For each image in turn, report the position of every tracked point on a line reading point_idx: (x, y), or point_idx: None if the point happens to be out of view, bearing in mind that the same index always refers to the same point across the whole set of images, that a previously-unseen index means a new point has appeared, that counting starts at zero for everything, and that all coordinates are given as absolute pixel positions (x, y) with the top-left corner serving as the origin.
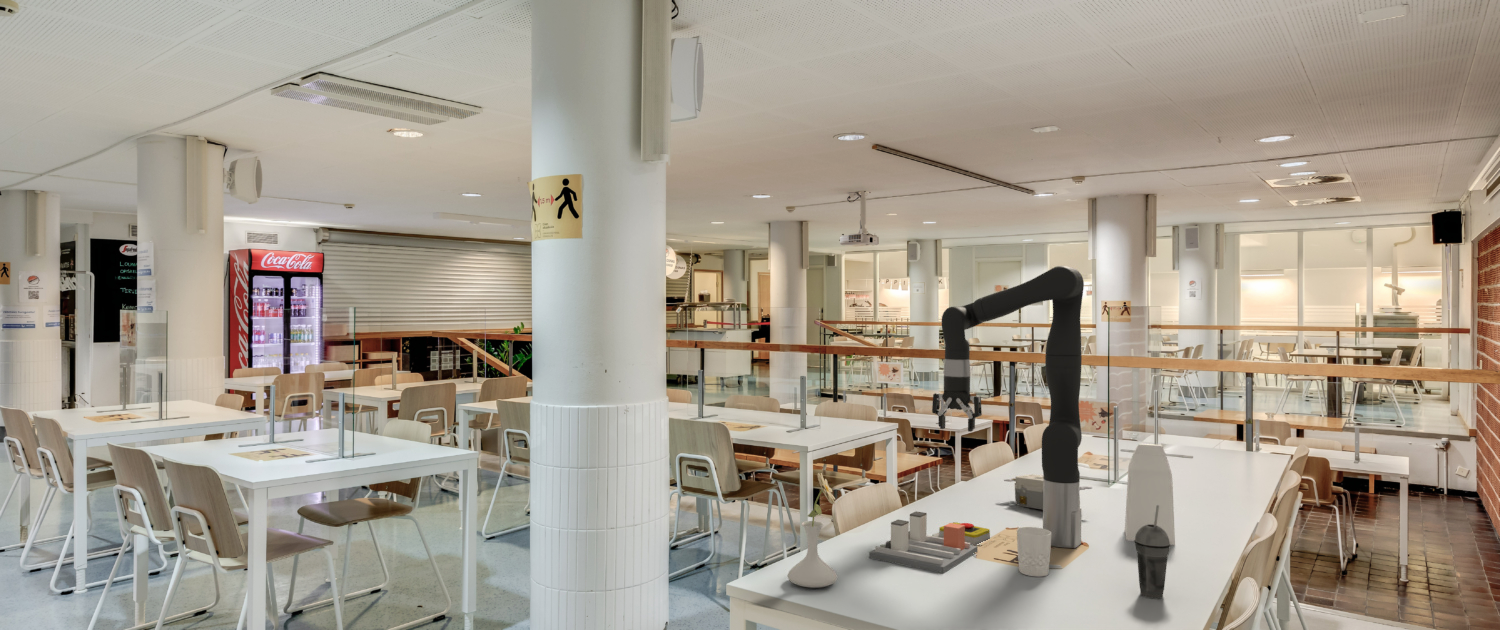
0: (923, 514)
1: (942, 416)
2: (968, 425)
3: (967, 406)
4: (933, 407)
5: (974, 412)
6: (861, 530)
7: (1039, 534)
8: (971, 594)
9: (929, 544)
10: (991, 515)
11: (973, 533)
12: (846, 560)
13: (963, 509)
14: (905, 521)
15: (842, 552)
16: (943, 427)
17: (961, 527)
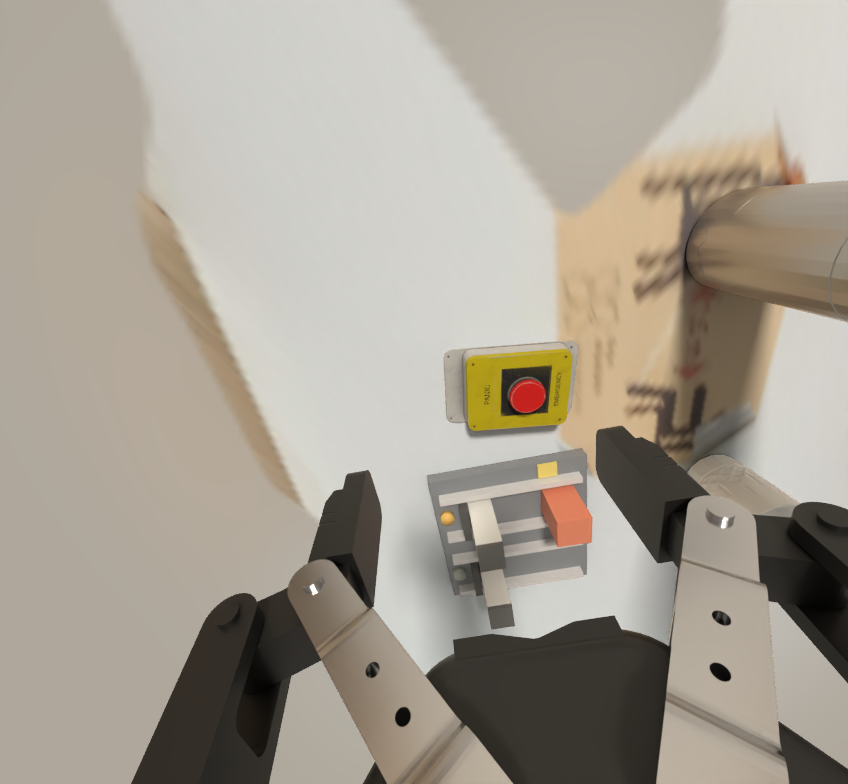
0: (504, 555)
1: (365, 599)
2: (625, 510)
3: (719, 647)
4: (243, 733)
5: (800, 627)
6: (320, 491)
7: (772, 497)
8: (649, 597)
9: (521, 530)
10: (442, 61)
11: (555, 413)
12: (436, 610)
13: (317, 57)
14: (508, 610)
15: (404, 593)
16: (376, 502)
17: (591, 530)
